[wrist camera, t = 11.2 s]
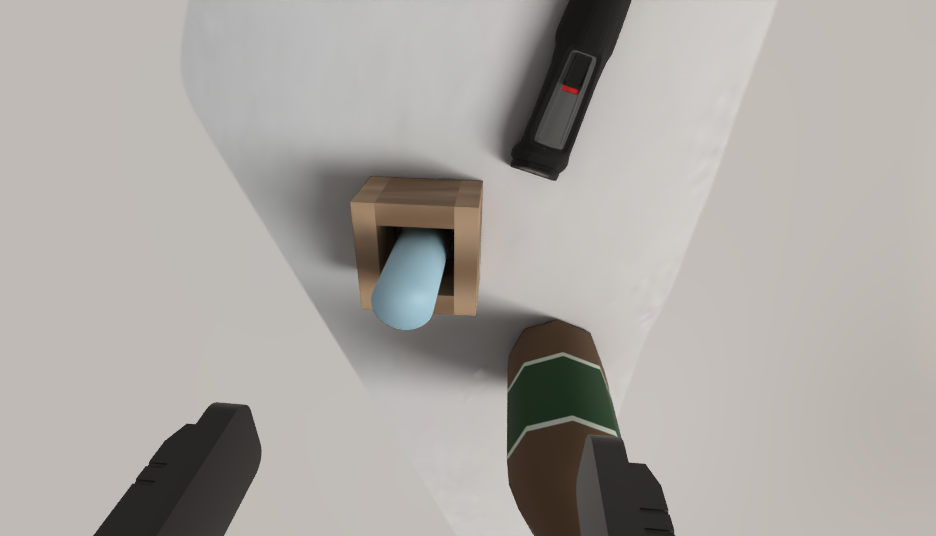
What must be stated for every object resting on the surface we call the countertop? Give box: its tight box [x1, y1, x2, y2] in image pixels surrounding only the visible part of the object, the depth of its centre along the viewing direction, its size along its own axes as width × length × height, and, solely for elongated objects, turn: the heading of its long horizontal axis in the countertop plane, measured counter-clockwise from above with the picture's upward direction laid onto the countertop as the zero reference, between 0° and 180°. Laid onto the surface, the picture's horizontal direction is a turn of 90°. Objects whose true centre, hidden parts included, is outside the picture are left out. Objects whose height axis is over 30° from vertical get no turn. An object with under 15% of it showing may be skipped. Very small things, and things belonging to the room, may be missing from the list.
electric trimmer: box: [511, 0, 631, 181], centre depth 28 cm, size 4×16×3 cm, turn 162°
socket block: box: [350, 176, 483, 316], centre depth 34 cm, size 8×8×5 cm
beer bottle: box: [507, 320, 621, 536], centre depth 30 cm, size 8×8×24 cm
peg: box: [371, 227, 452, 330], centre depth 32 cm, size 4×4×10 cm
